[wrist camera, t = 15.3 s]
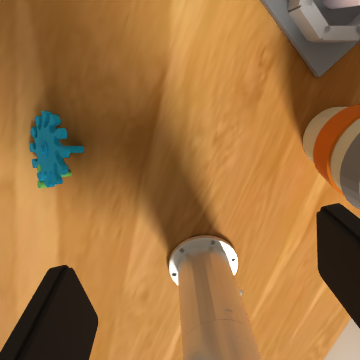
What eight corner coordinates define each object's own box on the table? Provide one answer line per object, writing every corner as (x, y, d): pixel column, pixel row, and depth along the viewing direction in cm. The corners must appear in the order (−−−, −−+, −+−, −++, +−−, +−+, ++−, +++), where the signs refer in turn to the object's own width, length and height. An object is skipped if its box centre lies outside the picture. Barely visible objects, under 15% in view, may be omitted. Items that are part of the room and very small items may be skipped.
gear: (32, 95, 34) (65, 137, 29) (75, 101, 38) (110, 139, 34) (19, 164, 39) (46, 209, 34) (59, 162, 44) (87, 202, 39)
